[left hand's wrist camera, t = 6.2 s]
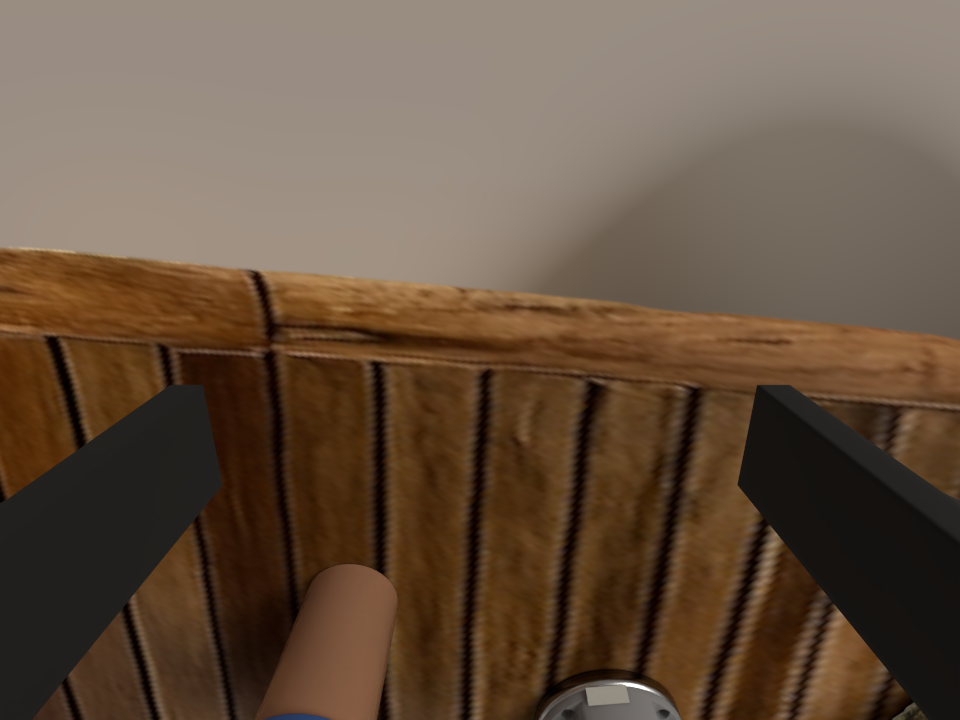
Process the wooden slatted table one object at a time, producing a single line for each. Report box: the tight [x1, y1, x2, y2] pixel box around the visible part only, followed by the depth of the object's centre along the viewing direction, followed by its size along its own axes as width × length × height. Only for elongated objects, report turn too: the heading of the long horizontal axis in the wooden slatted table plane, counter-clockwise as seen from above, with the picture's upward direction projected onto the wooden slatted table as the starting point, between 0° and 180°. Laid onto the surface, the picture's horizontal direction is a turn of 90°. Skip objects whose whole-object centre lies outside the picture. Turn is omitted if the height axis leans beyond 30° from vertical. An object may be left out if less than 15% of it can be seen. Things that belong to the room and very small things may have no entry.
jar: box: [255, 564, 398, 720], centre depth 43 cm, size 9×9×16 cm
